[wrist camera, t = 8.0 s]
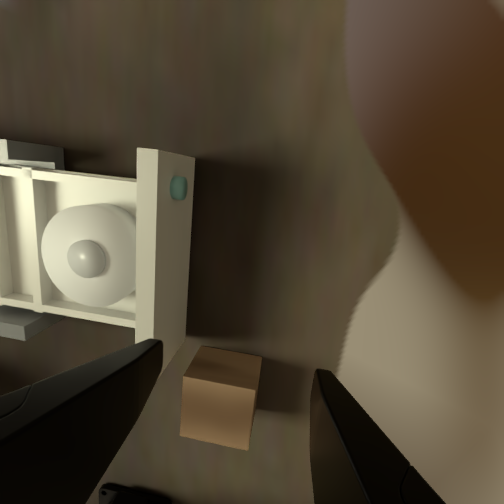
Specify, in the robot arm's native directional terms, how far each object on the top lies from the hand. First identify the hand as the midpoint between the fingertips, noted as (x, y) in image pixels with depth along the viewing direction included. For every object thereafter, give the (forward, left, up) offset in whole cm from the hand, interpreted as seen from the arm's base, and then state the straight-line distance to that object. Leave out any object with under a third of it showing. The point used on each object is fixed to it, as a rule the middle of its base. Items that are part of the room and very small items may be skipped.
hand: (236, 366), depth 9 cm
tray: (0, +11, -10) cm, 15 cm away
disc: (0, +10, -9) cm, 14 cm away
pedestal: (-9, +2, -11) cm, 14 cm away
